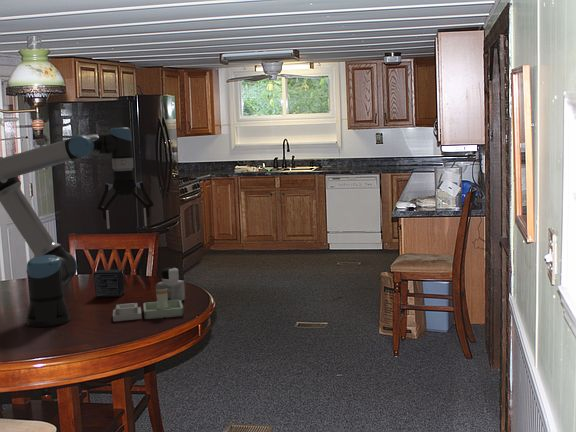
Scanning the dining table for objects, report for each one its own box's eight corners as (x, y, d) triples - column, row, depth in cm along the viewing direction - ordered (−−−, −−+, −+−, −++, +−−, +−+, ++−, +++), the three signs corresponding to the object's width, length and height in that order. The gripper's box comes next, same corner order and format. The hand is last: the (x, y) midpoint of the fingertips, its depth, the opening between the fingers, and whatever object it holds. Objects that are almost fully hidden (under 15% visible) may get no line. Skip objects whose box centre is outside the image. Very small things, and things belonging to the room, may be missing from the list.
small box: (125, 293, 320) (123, 268, 319) (120, 297, 314) (118, 272, 313) (100, 294, 322) (98, 269, 320) (95, 298, 315) (93, 272, 314)
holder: (113, 321, 276) (112, 310, 276) (113, 314, 286) (112, 304, 286) (141, 318, 278) (140, 308, 278) (141, 312, 288) (140, 301, 287)
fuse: (157, 313, 283) (155, 286, 282) (157, 310, 287) (155, 284, 286) (169, 312, 284) (167, 285, 283) (168, 309, 288) (166, 283, 287)
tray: (144, 319, 277) (144, 311, 277) (143, 310, 291) (143, 302, 291) (183, 315, 280) (183, 308, 280) (181, 306, 294) (180, 299, 293)
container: (157, 302, 302) (155, 269, 301) (169, 298, 309) (167, 266, 307) (173, 304, 299) (171, 271, 297) (185, 299, 306) (183, 267, 304)
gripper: (87, 172, 278) (92, 230, 281) (157, 168, 283) (161, 225, 286) (88, 171, 286) (93, 227, 288) (157, 167, 291) (160, 223, 293)
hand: (127, 227), depth 287 cm, fingers open, 13 cm apart
